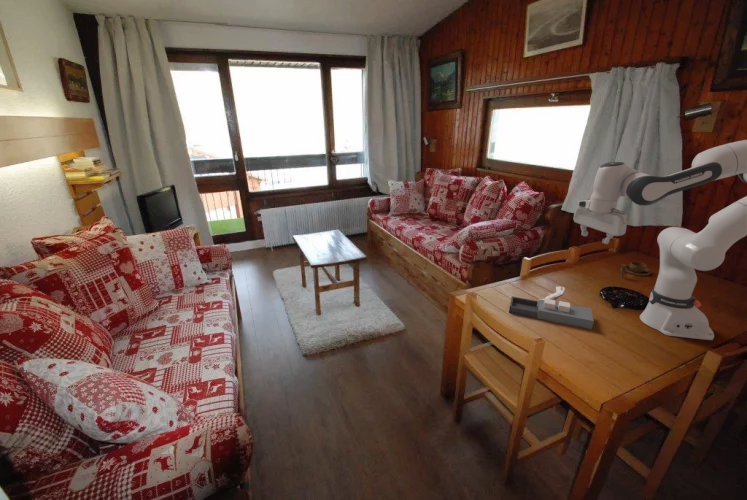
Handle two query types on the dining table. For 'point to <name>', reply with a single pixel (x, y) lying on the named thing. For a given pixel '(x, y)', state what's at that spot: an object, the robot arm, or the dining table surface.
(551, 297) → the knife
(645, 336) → the dining table surface
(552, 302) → the tile
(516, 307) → the tray
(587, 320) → the long flat grey base
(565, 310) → the tile
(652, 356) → the dining table surface
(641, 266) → the place setting
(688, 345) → the dining table surface
